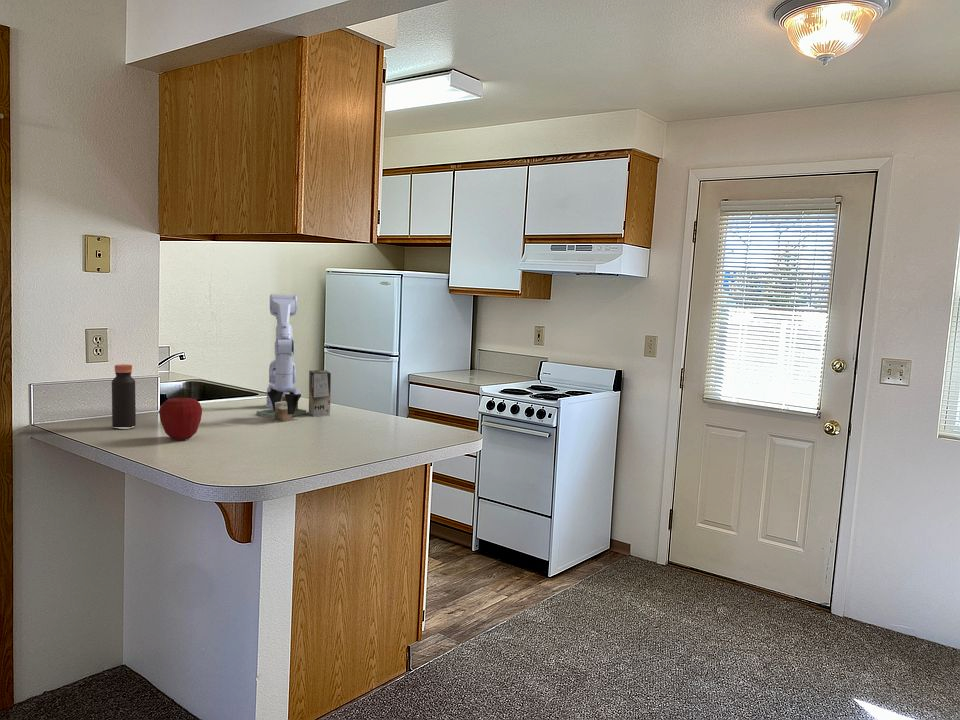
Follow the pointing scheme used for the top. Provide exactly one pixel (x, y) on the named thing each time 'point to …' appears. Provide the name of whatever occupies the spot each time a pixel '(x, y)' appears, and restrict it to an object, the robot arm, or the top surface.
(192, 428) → the apple
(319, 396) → the coffee box
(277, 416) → the labelled block
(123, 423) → the bottle
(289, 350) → the robot arm
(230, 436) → the top surface
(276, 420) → the mat
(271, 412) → the tray
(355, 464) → the top surface
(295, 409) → the plain block
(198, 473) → the top surface
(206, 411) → the top surface
